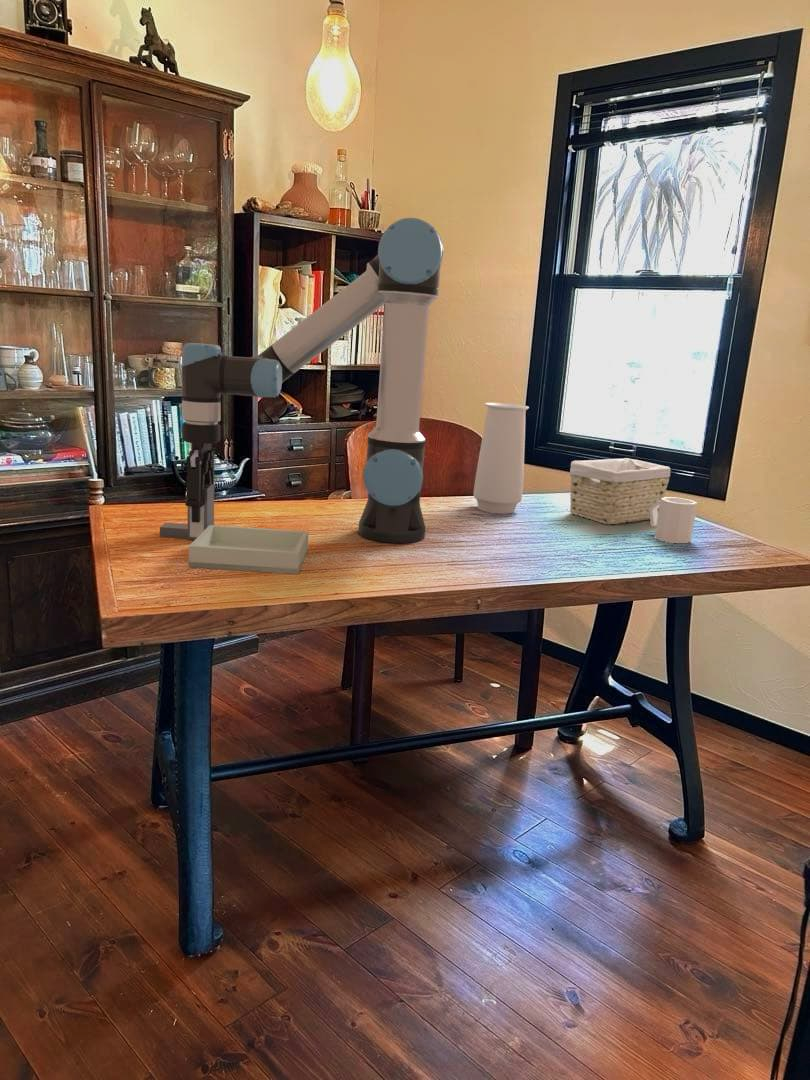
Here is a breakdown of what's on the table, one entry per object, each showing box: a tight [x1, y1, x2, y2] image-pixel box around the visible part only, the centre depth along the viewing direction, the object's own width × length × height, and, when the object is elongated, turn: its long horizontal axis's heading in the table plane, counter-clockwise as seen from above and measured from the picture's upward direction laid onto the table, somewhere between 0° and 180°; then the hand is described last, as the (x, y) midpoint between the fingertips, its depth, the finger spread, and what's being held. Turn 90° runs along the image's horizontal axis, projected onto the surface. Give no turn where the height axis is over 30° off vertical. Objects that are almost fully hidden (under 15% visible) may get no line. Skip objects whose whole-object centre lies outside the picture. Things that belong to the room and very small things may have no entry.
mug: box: [649, 496, 698, 544], centre depth 189 cm, size 12×9×10 cm
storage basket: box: [569, 457, 672, 526], centre depth 208 cm, size 24×16×15 cm
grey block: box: [159, 482, 215, 541], centre depth 160 cm, size 10×6×11 cm, turn 90°
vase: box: [473, 402, 530, 515], centre depth 204 cm, size 13×13×28 cm
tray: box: [188, 524, 309, 575], centre depth 149 cm, size 20×16×4 cm
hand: (201, 532), depth 161 cm, fingers closed on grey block, 6 cm apart
